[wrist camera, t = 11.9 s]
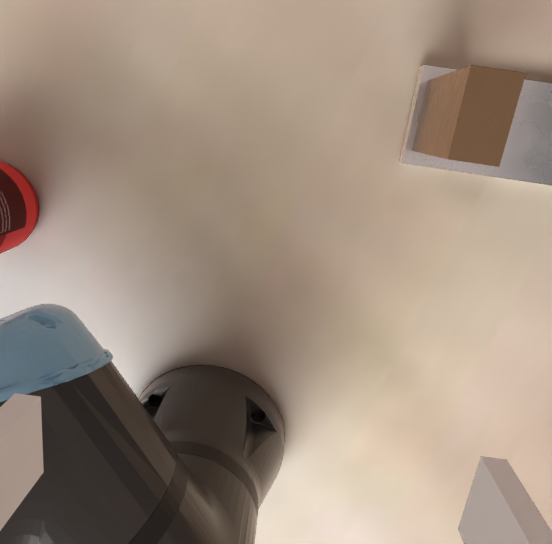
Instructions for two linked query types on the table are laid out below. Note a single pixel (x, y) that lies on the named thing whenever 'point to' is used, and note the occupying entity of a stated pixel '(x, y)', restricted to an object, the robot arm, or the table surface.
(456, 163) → the steel scraper
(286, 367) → the table surface
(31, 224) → the canned food
